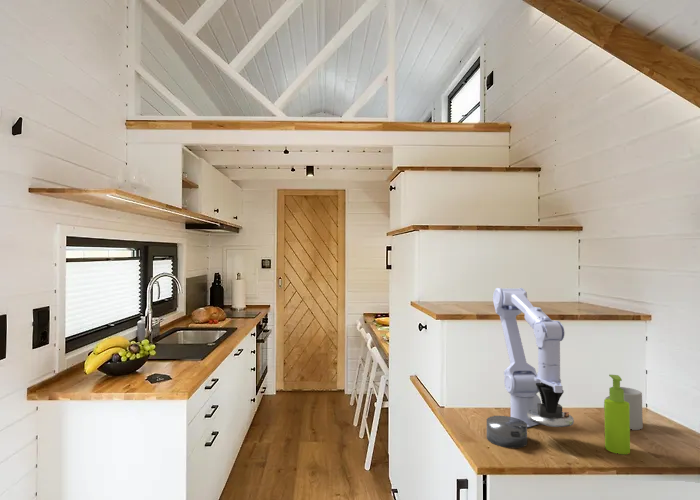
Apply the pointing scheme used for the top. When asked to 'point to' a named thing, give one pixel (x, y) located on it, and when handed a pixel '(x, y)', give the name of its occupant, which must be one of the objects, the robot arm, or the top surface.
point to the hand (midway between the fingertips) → (549, 410)
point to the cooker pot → (507, 431)
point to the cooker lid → (550, 416)
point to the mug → (634, 407)
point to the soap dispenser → (617, 419)
